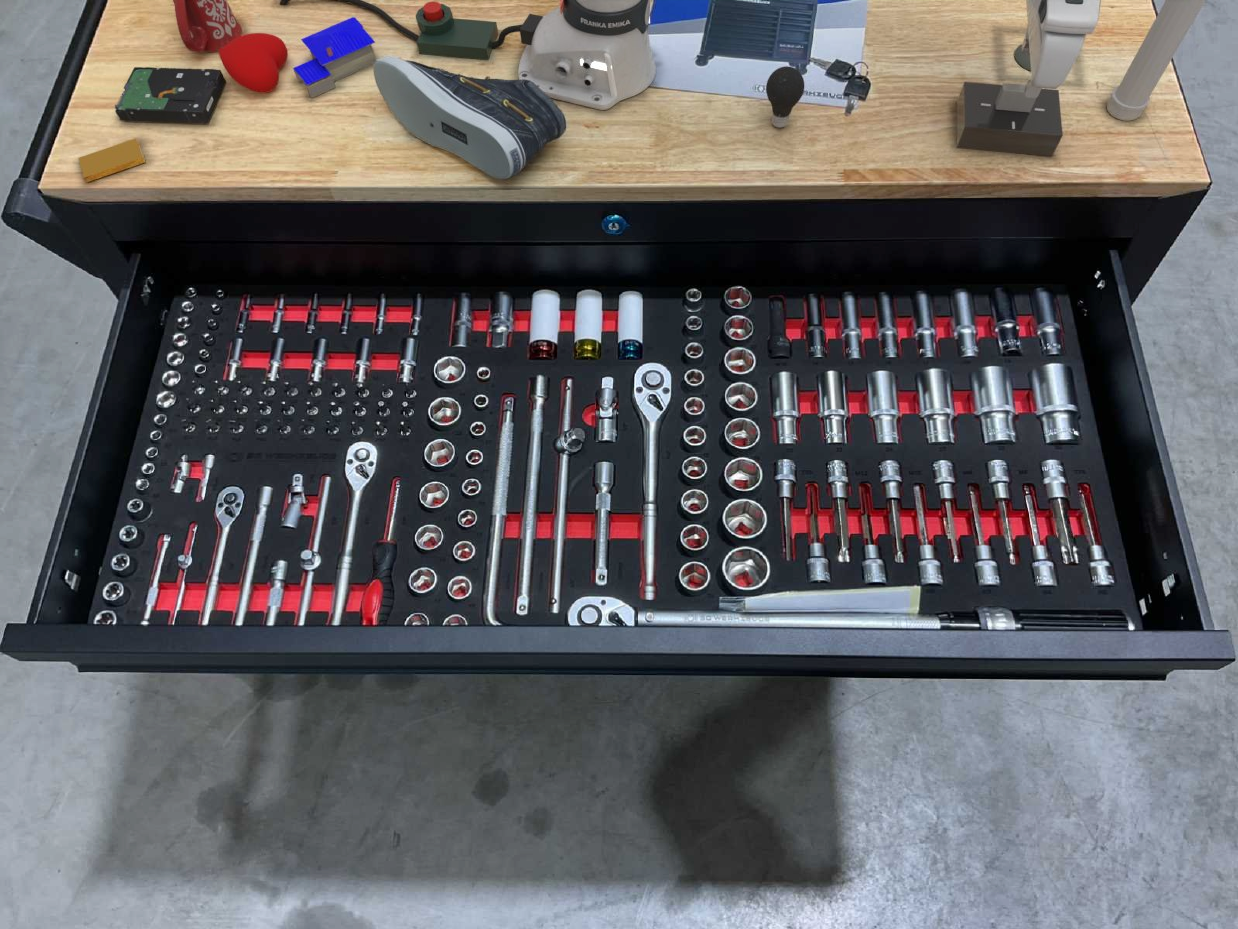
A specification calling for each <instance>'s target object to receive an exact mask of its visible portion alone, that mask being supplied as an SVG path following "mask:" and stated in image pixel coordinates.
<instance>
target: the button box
mask: <svg viewBox="0 0 1238 929" xmlns="http://www.w3.org/2000/svg"><path fill="white" fill-rule="evenodd" d="M440 4H441V8H442V12H443V18H441V19H440V20H438V21H427V20H426V19H425V15H424V11H423V6H422V7H420V8H418V10H417V11H416V14H415V19H416V24H417V27H418V30H419V32H420V33H419V38H418V40H417V41H416V47H417V49H418V53H419V55H428V56H439V57H448V58H449V57H451V58H461V59H471V60H484V61H489V59H490V57H491V54H492V51H493V49H492V43H493V42H495V41H497V38H498V35H499V29H498V24H497V21H489V20H479V19H467V18H456V17H455V18H454V15H453V12H452V10H451V7H450V6H448V5H446V4H444V3H440Z"/></svg>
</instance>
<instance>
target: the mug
mask: <svg viewBox="0 0 1238 929" xmlns="http://www.w3.org/2000/svg"><path fill="white" fill-rule="evenodd" d="M172 3H173V5H174V13H175V20H176V24H177V29H178V32H179V35H180V39H181V41H182V42H183V44H184V46H185V47H186V49H187V50H188V51H189V52H193V53H194V52H195V53H201V52H206V53H215V52H219V50H220V49H222V48H223V47H224V46H225V45H227V44H228V43H229V42H231V41H233V40H234V39H236V38H238V37H240V36H242V35H243V28H242V26H241V24H240V23H239V22H238V20H237V18H236V17H235V14H234V12H233V10H232V8H231V6H230V4H229V2H228V0H172Z"/></svg>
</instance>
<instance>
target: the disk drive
mask: <svg viewBox="0 0 1238 929" xmlns="http://www.w3.org/2000/svg"><path fill="white" fill-rule="evenodd" d="M226 84H227V79H226V78H225V76H224V74H223V72H222V70H221V69H216V68H215V69H214V68H184V67H183V68H180V67H179V68H178V67H151V66H149V67H148V66H146V67H145V66H144V67H141V66H134V67H133V69H132V70H131V73H130V75H129V77H128V79H127V81H126V83H125V84H124V86H123V91H122V92H121V95H120V96H119V98H118V101H117V103H116V104H114V108H115V114H116V115H117V117H118V118H119V121H124V122H135V123H136V122H137V123H138V122H139V123H164V124H165V123H166V124H168V123H169V124H194V125H195V124H200V125H201V124H209V123H210V120H211V119H212V116H213V114H214V112H215V109H216V107H217V105H218V102H219V101H220V98H221V95H222V93H223V91H224V89H225V85H226Z"/></svg>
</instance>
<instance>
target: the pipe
mask: <svg viewBox="0 0 1238 929" xmlns="http://www.w3.org/2000/svg"><path fill="white" fill-rule="evenodd" d="M1206 1H1207V0H1165V1H1164V2H1163V4H1162V6H1161V7H1160V10H1159V12H1158V14H1157V15H1156V17H1155V19H1154V21H1153V23H1152V24H1151V26H1150V28H1149V30H1148V32H1147V34H1146V35H1145V37H1144V39H1143V41H1142V43H1141V44H1140V46H1139V49H1138V50H1137V52H1136V54H1135V56H1134V58H1133V59H1132V61H1131V62H1130V65H1129V67H1128V69H1127V71H1126V72H1125V74H1124V76H1123V78H1122V80H1121V82H1120V83H1119V85H1117V86H1116V87H1114V89H1112V92H1111V94H1110V98H1109V100H1108V101H1107V103H1106V110H1107V112H1108V113H1109V115H1111V117H1114V118H1115V119H1117V120H1120V121H1125V122H1131V121H1134V120H1137V119H1139V118H1140V117H1141V116H1142V114H1143V112H1144V111H1145V109H1146V108H1147V107H1148V106H1149V103H1150V101H1151V98H1150V97H1151V95H1152V94H1153V92H1154V90H1155V88H1156V87H1157V85H1158V83H1159V82H1160V80H1161V78H1162V76H1163V74H1164V73H1165V71H1166V69H1167V67H1168V66H1169V64H1170V63H1171V61H1172V59H1173V58H1174V56H1175V54H1176V52H1177V51H1178V49H1179V47H1180V45H1181V44H1182V42H1183V41H1184V39H1185V37H1186V35H1187V34H1188V32H1189V30H1190V29H1191V27H1192V25H1193V24H1194V22H1195V20H1196V19H1197V16H1198V15H1199V14H1200V12H1201V10H1202V8H1203V6H1205V4H1206Z"/></svg>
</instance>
